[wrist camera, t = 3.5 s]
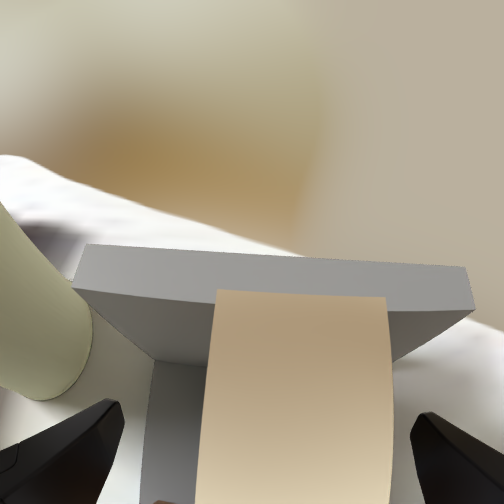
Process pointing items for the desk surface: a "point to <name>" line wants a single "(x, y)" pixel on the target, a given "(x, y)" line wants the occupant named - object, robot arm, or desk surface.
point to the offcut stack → (162, 502)
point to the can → (38, 320)
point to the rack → (201, 320)
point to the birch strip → (297, 401)
